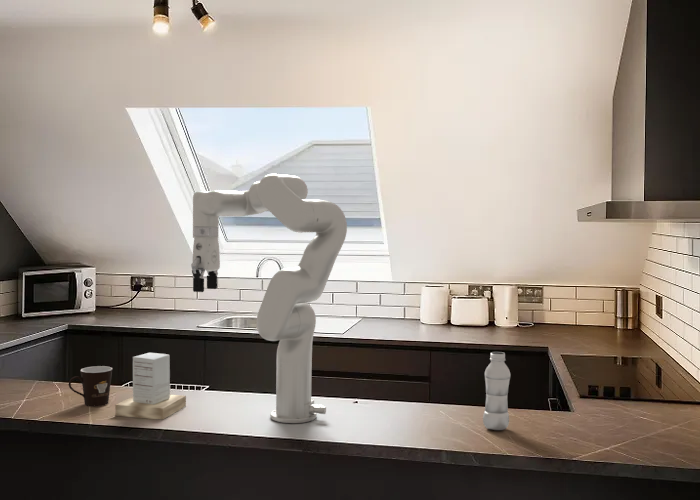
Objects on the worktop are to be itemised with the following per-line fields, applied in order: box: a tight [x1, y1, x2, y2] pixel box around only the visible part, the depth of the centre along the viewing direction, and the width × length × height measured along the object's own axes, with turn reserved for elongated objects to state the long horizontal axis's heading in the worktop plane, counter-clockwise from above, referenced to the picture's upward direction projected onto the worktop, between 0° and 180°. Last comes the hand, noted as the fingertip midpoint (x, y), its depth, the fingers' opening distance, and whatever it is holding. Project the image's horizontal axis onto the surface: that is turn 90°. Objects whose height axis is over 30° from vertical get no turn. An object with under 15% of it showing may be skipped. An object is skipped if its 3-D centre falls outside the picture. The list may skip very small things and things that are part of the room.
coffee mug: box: [68, 365, 113, 408], centre depth 203 cm, size 12×9×10 cm
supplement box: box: [132, 352, 171, 404], centre depth 197 cm, size 7×7×13 cm
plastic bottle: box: [482, 351, 511, 431], centre depth 184 cm, size 6×7×20 cm
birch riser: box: [114, 394, 187, 421], centre depth 197 cm, size 14×14×3 cm
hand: (205, 290), depth 212 cm, fingers open, 9 cm apart
